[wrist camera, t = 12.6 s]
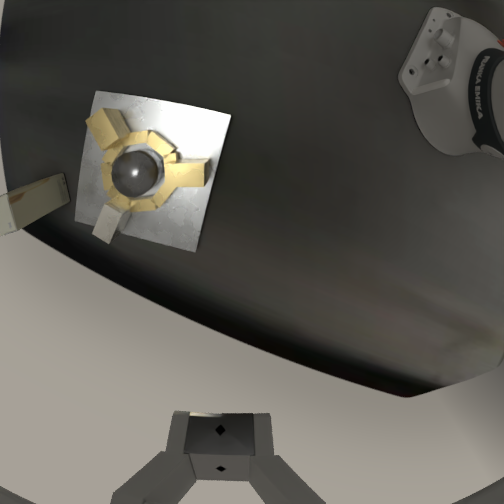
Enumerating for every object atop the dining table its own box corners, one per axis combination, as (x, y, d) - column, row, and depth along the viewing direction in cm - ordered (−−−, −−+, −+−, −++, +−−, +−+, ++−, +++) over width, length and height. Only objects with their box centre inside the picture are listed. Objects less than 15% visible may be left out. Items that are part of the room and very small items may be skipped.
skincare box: (64, 171, 35) (8, 191, 24) (71, 201, 37) (19, 231, 26) (31, 183, 35) (-24, 206, 24) (39, 211, 37) (-14, 241, 26)
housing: (101, 91, 32) (81, 88, 27) (231, 115, 34) (229, 113, 29) (80, 217, 38) (61, 229, 33) (197, 247, 40) (190, 264, 35)
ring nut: (205, 96, 31) (199, 91, 27) (214, 224, 37) (210, 237, 33) (94, 114, 31) (76, 114, 27) (109, 232, 37) (94, 245, 32)
